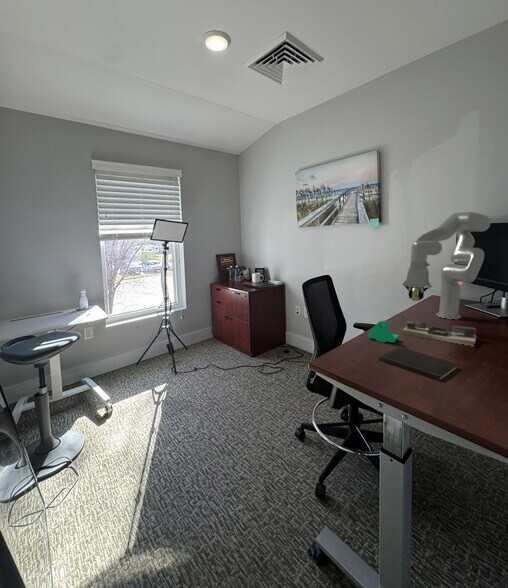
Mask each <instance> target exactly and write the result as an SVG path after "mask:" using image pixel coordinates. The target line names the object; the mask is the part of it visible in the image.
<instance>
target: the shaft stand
mask: <svg viewBox="0 0 508 588" xmlns="http://www.w3.org/2000/svg"><path fill="white" fill-rule="evenodd" d="M451 328H452V329H451V331H450V330H449V328H445V327H444V328H443V327H437V326H436V327H435V326H429V327H427V322H421V321H416V320H415V321H414V320H409V319H408V320H405V327H404V328H403V329H401V334H402V335H405V334H406V335H405V336H411V335H412V336H411V337H417V338H422V337H423V339H428V338H429V339H430V340H434V341H439V340H440V341H441V342H445V341H446V342H447V343H451V342H452V344H456V343H457V345H462V344H464V345H463V346H468V345H470V346H469V347H475V345H474V344H476V340H477V328H476V327H471V326H470V327H469V326H458V325H452V327H451ZM440 341H439V342H440Z"/></svg>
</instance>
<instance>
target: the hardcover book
mask: <svg viewBox="0 0 508 588" xmlns="http://www.w3.org/2000/svg"><path fill="white" fill-rule="evenodd" d="M378 361H380V362H383V363H385V364H387V365H391V366H394V367H396V368H399V369H403V370H406V371H409V372H411V373H415V374H416V375H417V374H418V375H420V376H424V377H426V378H429V379H432V380H434V381H438V382H440V380H442V379H444V378H445V377H446V376H448V375H449V374H451V373H453V371H455V370H456V369H457V368H458V366H459V363H456V362H453V361H448V360H445V359H442V358H439V357H435V356H432V355H428V354H424V353H421V352H418V351H414V350H410V349H408V348H403V347H400V346H399V347H397V348H393V349H392V350H390V351H388V352H386V353H383V354H381V355H379V357H378Z"/></svg>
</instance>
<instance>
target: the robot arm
mask: <svg viewBox="0 0 508 588" xmlns="http://www.w3.org/2000/svg"><path fill="white" fill-rule="evenodd" d="M490 219H491V218H490V217H489V216H488V215H485V214H482V213H478V212H473V211H468V212H466V211H465V212H464V211H463V212H455V213H452V214H451V215H449V216H448V217H447V218H446V219H445V220H444V221H443V222H442V223H441V224H440V225H439V226H438V227H437V228H434V229H431V230H430V231H427V232H425V233H423V234H422V235H420V236H419V237H418V238H417V239H416V240H415V241H414V242H413V243H412V244H411V252H410V265H409V266H410V267H408V270H407V275H406V279H405V281H404V282H403V283H402V286H403V287H405V288H406V290H407V291H408V298H409V299H411V294H412V287H420V288H421V292H420V297H419V299H420V301H421V300H422V299H424V295H425V292H426V291H427V290H430V289H431V288H433V286H432V284H431V283H430V281H429V279H430V278H429V277H430V275H429V274H430V273H429V268H428V267H430V265H431V264H430V263H428V256H436V255H438V254H440V253H441V252H442V251H443V246H442V243H441V242H443V241H446V240H449V239H451V238H452V237H453V236H454V235H455V234H456V235H457V239H456V240H457V241H456V244H455V245H454V248H453V250H452V252H451V254H450V261H451V262H452V263H448V264H445V265H443V266H442V268H441V270H440V277H441V287H440V289H441V290H440V302H439V310H438V312H436V313H435V316H436V315H437V316H438V317H437V316H436V317H437V318H439V317H442V318H441V319H443V318H447V319H446V320H452V319H455V320H460V319H461V317H462V316H461V315H460V314H459V307H460V298H461V285H460V282H462V283H473V282H474V281H475V280H476V278H477V276H478V274H479V271H480V270H481V267H482V266H483V263H484V260H485V252H484V250H483V249H482V248H479V247H474V245H475V242H476V241H475V237H474V236H473V235H472V233H474V232H485V231H487V230H488V229H489V228H490V227H491V220H490ZM471 232H472V233H471ZM459 318H460V319H459Z"/></svg>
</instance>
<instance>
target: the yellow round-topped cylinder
mask: <svg viewBox="0 0 508 588" xmlns="http://www.w3.org/2000/svg"><path fill="white" fill-rule="evenodd" d="M420 292H421V288H420V287H418V286H413V287H412V294H411V298H410V299H411V301H414V302H415V301H416V302H417V301H419V302H420V301H421V300H420V299H419V297H420Z"/></svg>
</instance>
